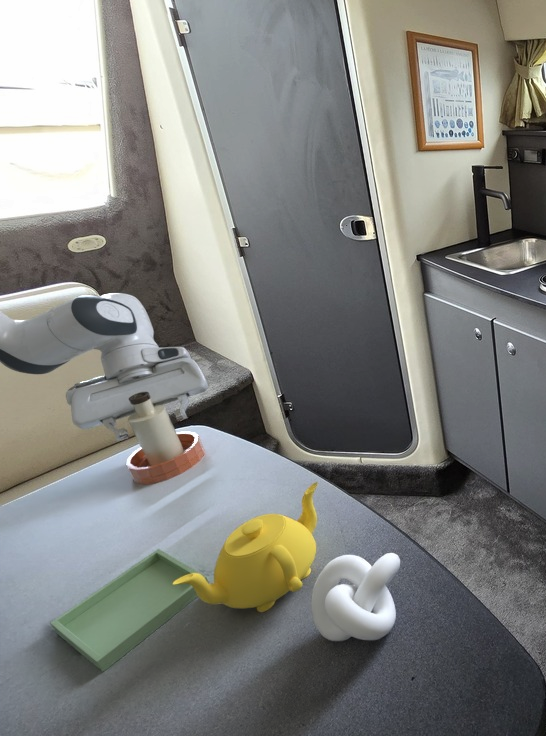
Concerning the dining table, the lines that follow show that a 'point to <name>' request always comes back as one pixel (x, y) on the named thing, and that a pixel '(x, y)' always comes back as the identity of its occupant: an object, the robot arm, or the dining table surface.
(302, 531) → the teapot
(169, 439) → the bottle
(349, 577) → the white knot
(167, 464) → the ring
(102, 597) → the tray
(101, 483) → the dining table surface
